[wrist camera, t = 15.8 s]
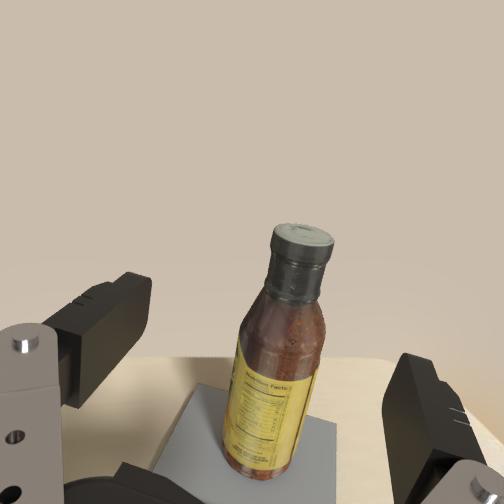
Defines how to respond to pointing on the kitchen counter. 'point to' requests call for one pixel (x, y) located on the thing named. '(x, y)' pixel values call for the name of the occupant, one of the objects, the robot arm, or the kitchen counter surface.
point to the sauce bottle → (277, 356)
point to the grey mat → (232, 482)
